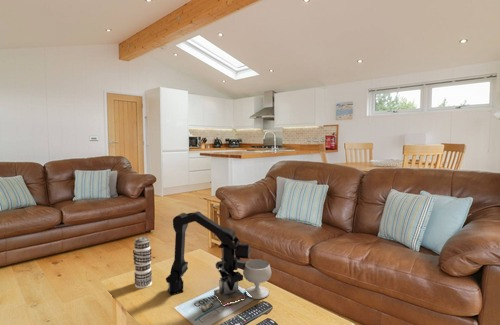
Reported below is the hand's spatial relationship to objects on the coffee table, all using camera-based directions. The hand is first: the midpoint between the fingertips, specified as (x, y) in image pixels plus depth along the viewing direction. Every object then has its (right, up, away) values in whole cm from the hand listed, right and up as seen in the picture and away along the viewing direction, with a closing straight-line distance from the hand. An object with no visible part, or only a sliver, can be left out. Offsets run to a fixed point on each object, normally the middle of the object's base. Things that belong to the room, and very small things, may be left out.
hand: (228, 287), depth 140 cm
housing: (0, -1, 0) cm, 1 cm away
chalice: (+14, -5, +5) cm, 15 cm away
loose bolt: (-9, -6, -8) cm, 13 cm away
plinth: (0, -5, 0) cm, 5 cm away
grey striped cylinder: (-46, -4, +13) cm, 48 cm away
